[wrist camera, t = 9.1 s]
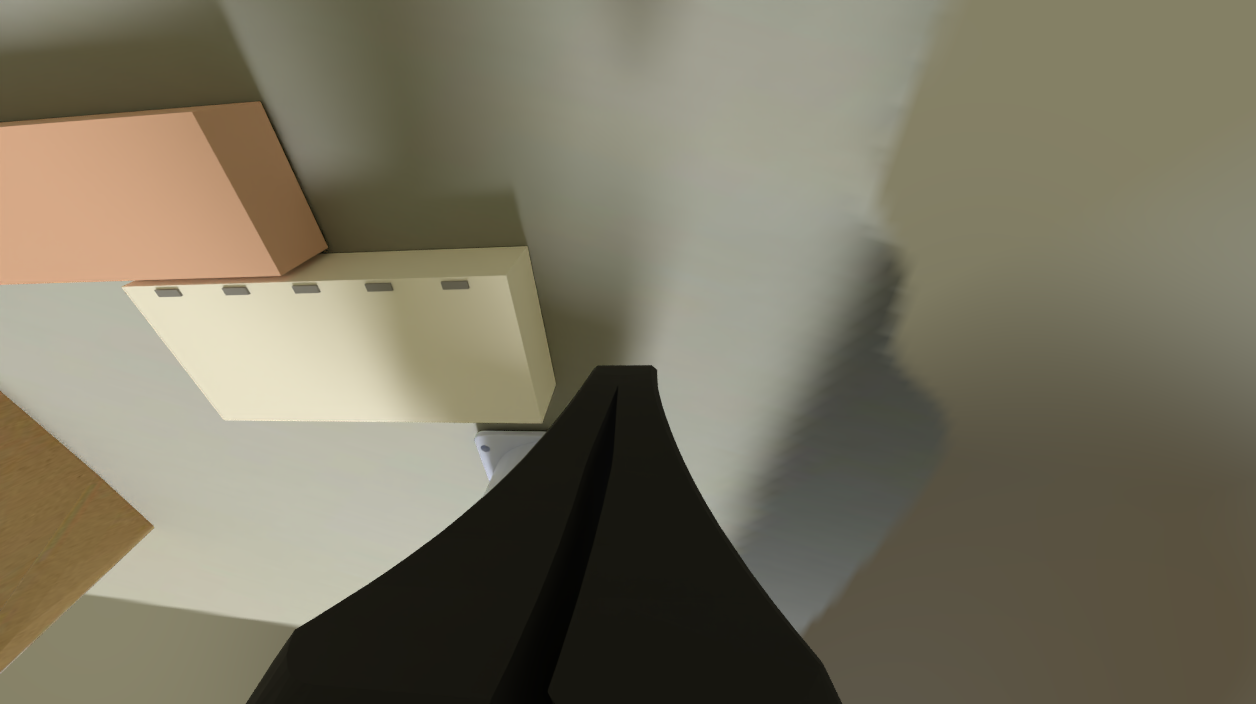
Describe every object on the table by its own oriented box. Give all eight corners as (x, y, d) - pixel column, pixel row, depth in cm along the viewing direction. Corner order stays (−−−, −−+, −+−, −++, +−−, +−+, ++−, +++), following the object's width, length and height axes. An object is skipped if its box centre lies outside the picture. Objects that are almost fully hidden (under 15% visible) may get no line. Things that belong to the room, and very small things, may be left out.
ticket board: (556, 384, 23) (541, 424, 20) (266, 384, 25) (222, 421, 22) (527, 246, 19) (505, 276, 16) (183, 258, 21) (118, 287, 18)
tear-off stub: (328, 247, 19) (280, 275, 17) (13, 259, 21) (-66, 286, 19) (260, 101, 16) (191, 111, 14) (-100, 130, 18) (-213, 143, 16)
